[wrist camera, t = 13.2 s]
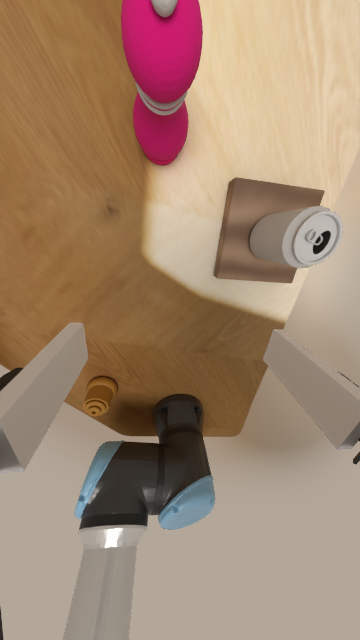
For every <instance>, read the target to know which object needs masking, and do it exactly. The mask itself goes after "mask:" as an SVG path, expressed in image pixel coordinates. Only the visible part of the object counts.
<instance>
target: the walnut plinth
mask: <svg viewBox="0 0 360 640" xmlns="http://www.w3.org/2000/svg"><path fill="white" fill-rule="evenodd" d="M323 194H324V191H323V190H316V189H310V188H303V187H296V186H290V185H283V184H276V183H270V182H263V181H256V180H250V179H243V178H234V179H233V180H232V181H230V182H229V186H228V192H227V198H226V204H225V210H224V216H223V222H222V228H221V234H220V240H219V246H218V252H217V258H216V264H215V270H214V276H215V277H217V278H220V279H235V280H249V281H264V282H279V283H292V281H293V278H294V275H295V273H296V270H297V268H296V267H292V266H288V265H284V264H279V263H275V262H271V261H267V260H263V259H259V258H258V257H256V256H255V255H254V254H253V252H252V251H251V247H250V235H251V233H252V230H253V228H254V227H255V225H256V224H257V222H258V221H259V220H261V219H262V218H263V217H265V216H267V215H269V214H274V213H280V212H286V211H291V210H297V209H302V208H308V207H315V206H319V205H320V203H321V200H322V197H323Z"/></svg>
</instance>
